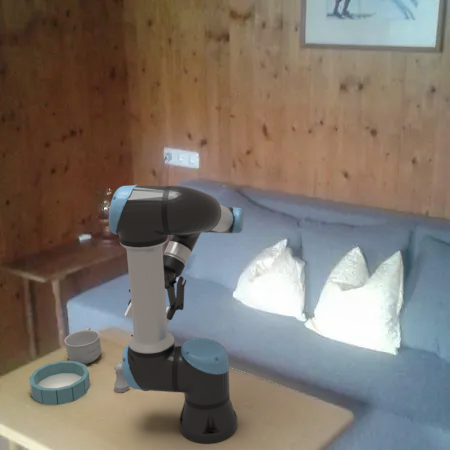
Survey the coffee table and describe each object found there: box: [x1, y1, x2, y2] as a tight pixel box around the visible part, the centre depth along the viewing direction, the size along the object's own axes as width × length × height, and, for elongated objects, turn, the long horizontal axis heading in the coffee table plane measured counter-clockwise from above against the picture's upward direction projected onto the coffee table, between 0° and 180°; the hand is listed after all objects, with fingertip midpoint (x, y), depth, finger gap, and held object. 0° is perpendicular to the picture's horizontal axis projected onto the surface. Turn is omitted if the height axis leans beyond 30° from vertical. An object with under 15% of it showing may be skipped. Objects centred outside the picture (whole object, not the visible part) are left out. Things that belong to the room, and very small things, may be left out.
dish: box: [28, 360, 91, 406], centre depth 193 cm, size 16×16×4 cm
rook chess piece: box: [113, 361, 130, 393], centre depth 191 cm, size 4×4×8 cm
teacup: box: [64, 327, 102, 365], centre depth 210 cm, size 14×11×8 cm
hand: (143, 323), depth 196 cm, fingers open, 13 cm apart
